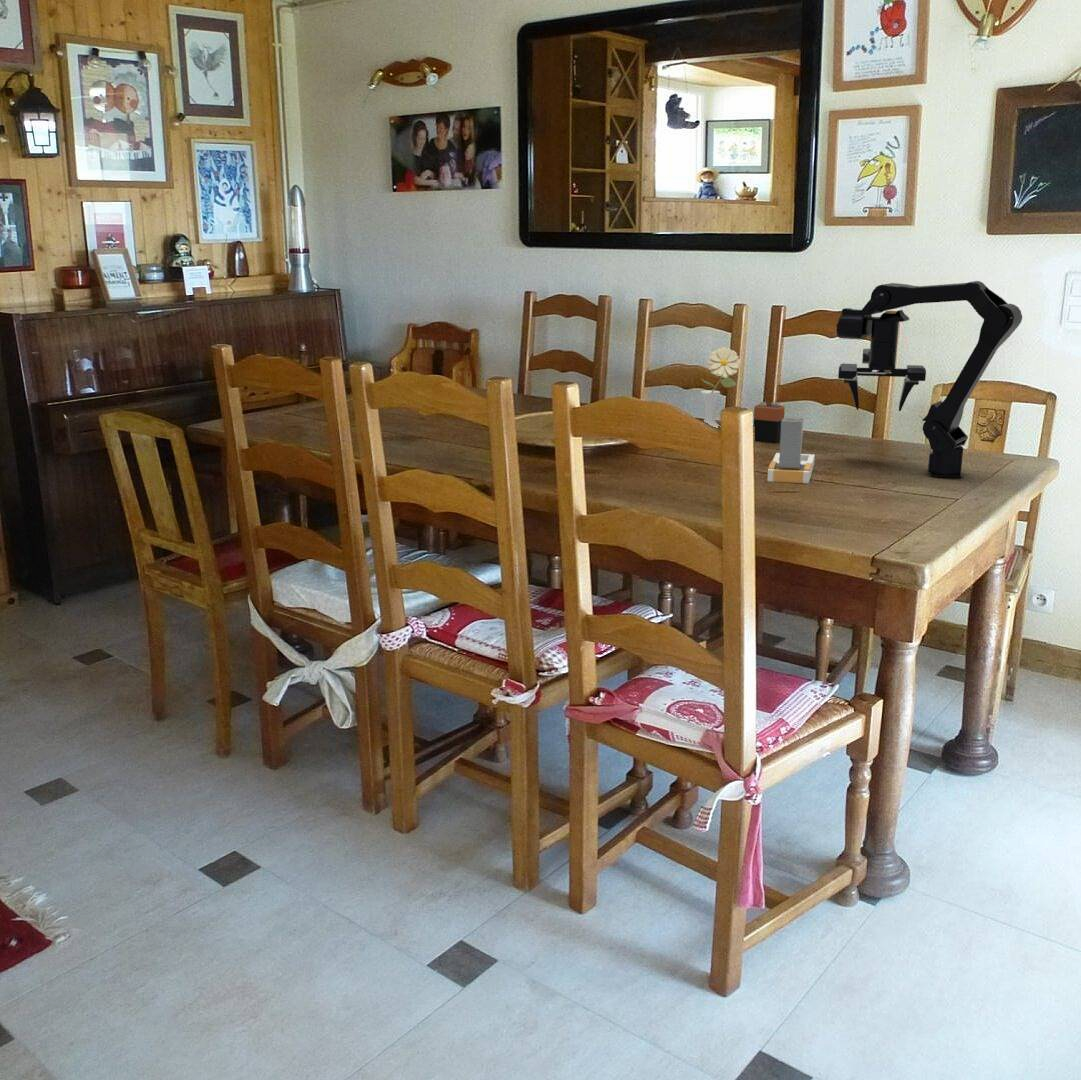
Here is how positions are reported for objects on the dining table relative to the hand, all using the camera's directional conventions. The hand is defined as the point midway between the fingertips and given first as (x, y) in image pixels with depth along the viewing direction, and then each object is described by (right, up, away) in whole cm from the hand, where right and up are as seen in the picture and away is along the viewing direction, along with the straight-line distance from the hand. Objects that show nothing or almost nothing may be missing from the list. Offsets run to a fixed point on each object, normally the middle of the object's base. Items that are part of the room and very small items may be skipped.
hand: (878, 410), depth 244 cm
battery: (-18, -4, +34) cm, 39 cm away
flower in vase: (-33, -6, +28) cm, 44 cm away
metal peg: (-22, -16, -6) cm, 28 cm away
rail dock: (-20, -14, -2) cm, 25 cm away
